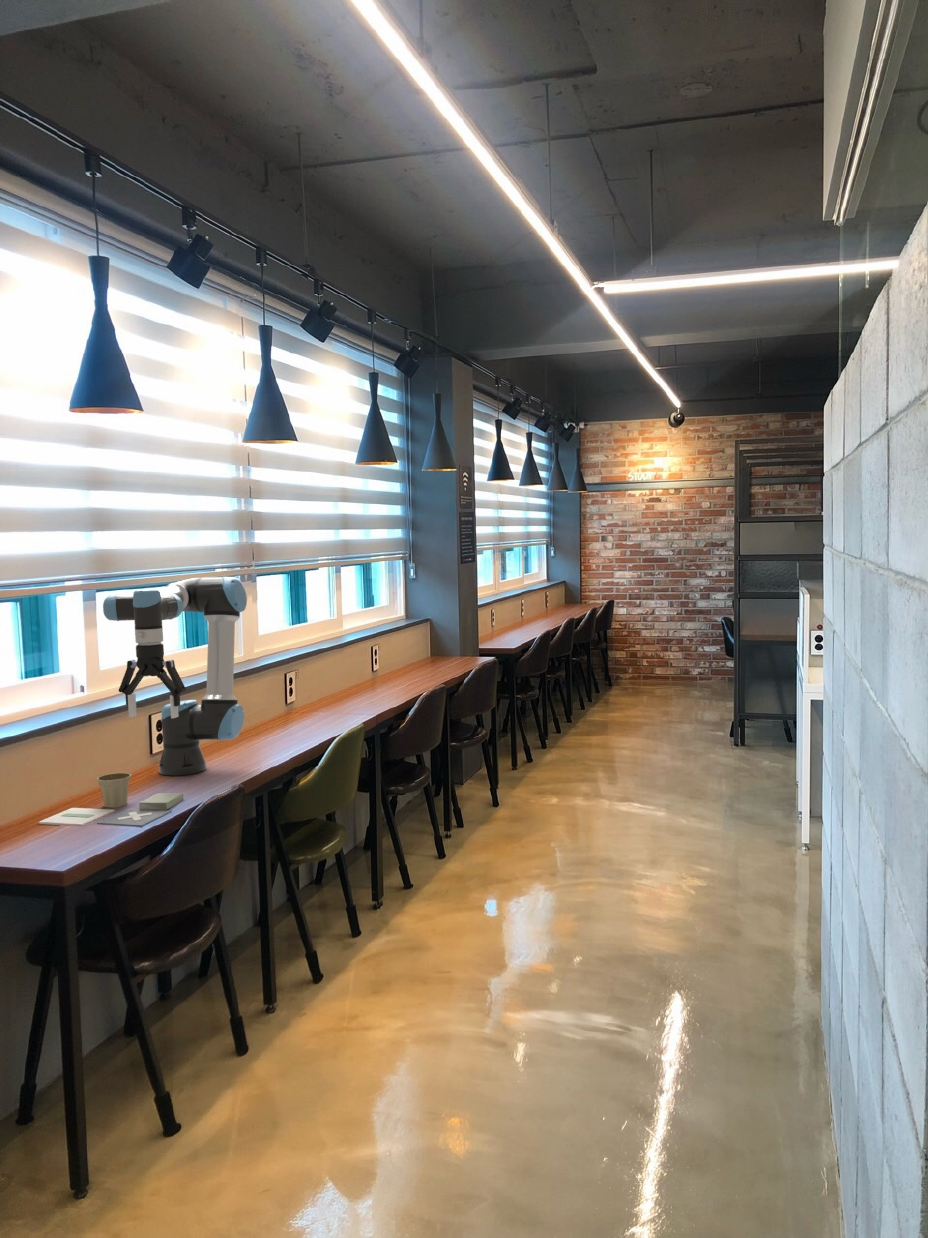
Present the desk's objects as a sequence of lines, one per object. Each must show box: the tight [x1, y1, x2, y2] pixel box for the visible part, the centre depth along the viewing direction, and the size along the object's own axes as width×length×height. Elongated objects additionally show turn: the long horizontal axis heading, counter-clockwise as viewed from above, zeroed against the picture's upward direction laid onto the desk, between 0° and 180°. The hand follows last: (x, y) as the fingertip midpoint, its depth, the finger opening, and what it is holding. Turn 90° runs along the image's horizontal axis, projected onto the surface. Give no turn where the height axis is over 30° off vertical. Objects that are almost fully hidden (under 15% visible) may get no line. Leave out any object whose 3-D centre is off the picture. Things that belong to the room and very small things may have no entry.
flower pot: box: [96, 772, 132, 809], centre depth 276 cm, size 9×9×9 cm
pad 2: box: [96, 807, 173, 828], centre depth 262 cm, size 14×14×1 cm
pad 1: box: [38, 807, 116, 827], centre depth 264 cm, size 14×14×1 cm
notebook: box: [138, 792, 184, 810], centre depth 274 cm, size 12×8×2 cm, turn 175°
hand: (153, 717), depth 272 cm, fingers open, 13 cm apart
